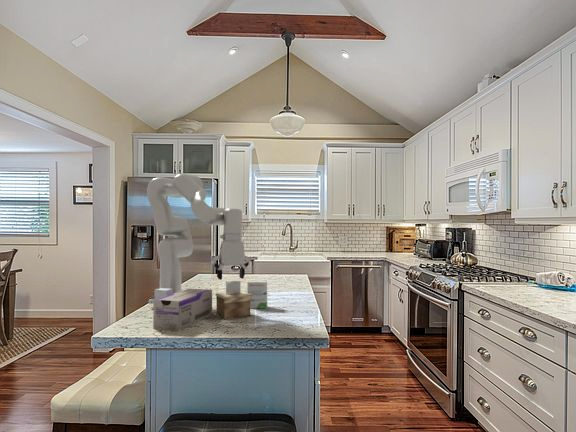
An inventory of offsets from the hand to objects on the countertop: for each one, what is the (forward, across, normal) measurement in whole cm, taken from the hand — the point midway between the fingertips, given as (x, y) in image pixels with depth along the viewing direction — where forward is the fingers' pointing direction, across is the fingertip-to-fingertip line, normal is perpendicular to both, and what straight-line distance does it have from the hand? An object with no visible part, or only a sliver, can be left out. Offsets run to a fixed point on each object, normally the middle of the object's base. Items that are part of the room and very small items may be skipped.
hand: (230, 278), depth 161 cm
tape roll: (+6, +1, -2) cm, 6 cm away
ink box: (+15, +16, +7) cm, 23 cm away
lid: (+8, +1, -2) cm, 9 cm away
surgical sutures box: (+16, -19, -2) cm, 25 cm away
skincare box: (+16, -26, +6) cm, 31 cm away
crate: (+15, +1, -2) cm, 15 cm away
